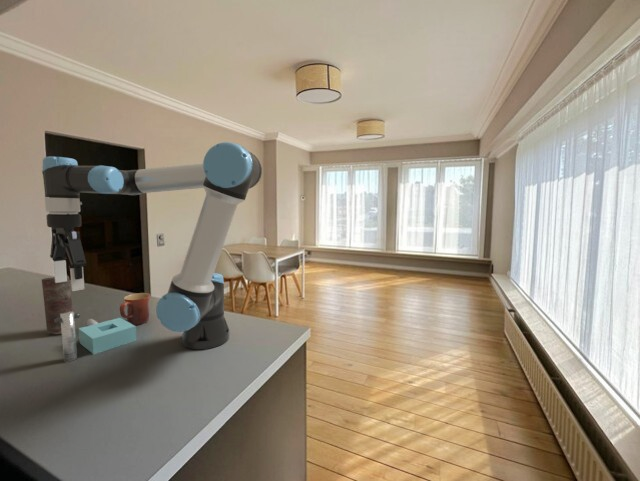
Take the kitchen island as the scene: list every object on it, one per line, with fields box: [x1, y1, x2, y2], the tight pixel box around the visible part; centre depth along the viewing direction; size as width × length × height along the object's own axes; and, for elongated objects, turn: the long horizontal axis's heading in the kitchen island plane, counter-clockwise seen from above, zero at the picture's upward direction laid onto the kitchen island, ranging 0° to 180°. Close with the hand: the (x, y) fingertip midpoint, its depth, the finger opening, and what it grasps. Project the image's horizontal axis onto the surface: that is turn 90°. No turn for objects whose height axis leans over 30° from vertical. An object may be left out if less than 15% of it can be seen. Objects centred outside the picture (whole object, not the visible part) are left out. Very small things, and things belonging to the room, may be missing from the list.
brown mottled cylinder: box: [41, 275, 74, 335], centre depth 104 cm, size 8×7×20 cm
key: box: [54, 310, 81, 363], centre depth 87 cm, size 6×3×14 cm, turn 145°
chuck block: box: [78, 317, 137, 355], centre depth 101 cm, size 22×12×5 cm, turn 55°
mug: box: [119, 292, 151, 326], centre depth 113 cm, size 12×9×10 cm
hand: (69, 285), depth 88 cm, fingers open, 13 cm apart
